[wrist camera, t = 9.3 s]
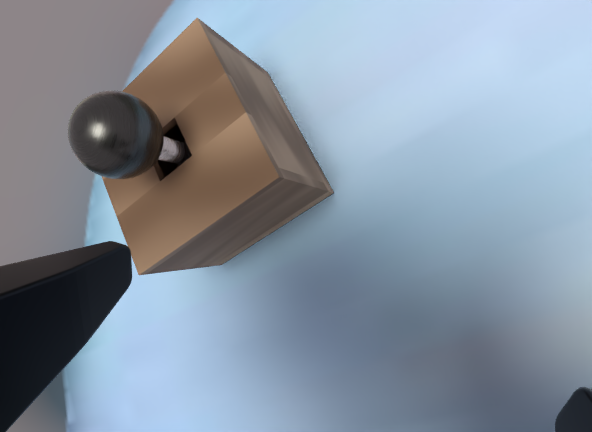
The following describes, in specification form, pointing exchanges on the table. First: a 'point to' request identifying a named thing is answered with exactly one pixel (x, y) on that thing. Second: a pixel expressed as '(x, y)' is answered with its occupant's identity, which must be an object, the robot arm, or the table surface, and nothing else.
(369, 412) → the table surface
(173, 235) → the wooden box
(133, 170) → the black ball knob
